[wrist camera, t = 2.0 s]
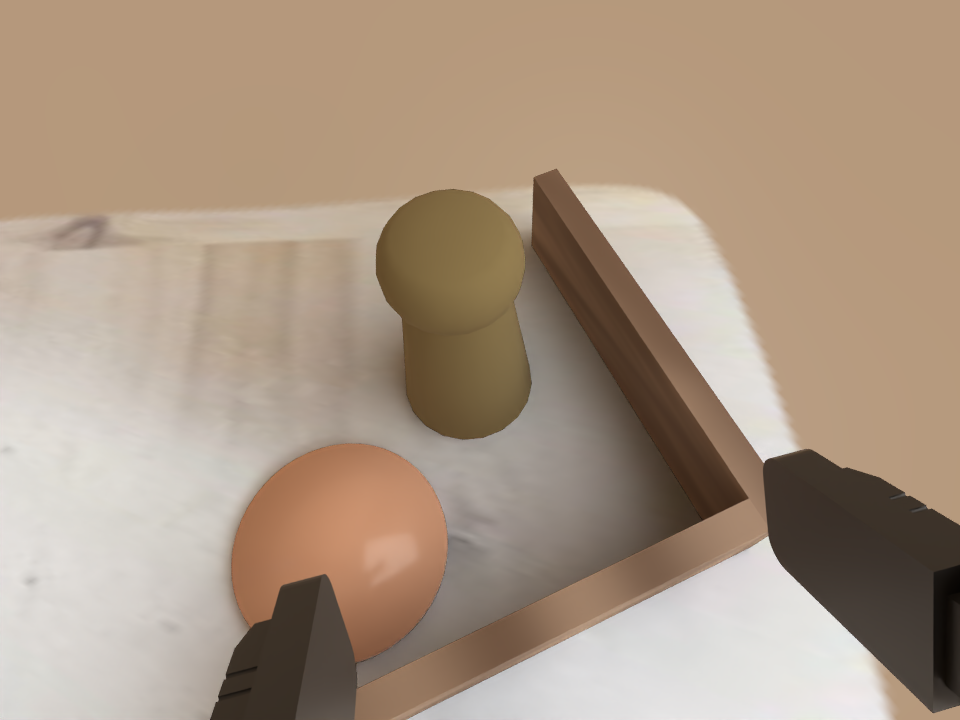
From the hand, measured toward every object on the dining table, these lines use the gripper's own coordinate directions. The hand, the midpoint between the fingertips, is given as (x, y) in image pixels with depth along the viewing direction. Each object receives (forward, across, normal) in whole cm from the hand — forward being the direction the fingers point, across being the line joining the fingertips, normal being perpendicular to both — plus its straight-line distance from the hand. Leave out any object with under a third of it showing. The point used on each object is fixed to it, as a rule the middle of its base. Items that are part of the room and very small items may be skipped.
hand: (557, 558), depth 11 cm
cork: (+19, 0, +3) cm, 19 cm away
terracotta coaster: (+14, +7, +7) cm, 17 cm away
